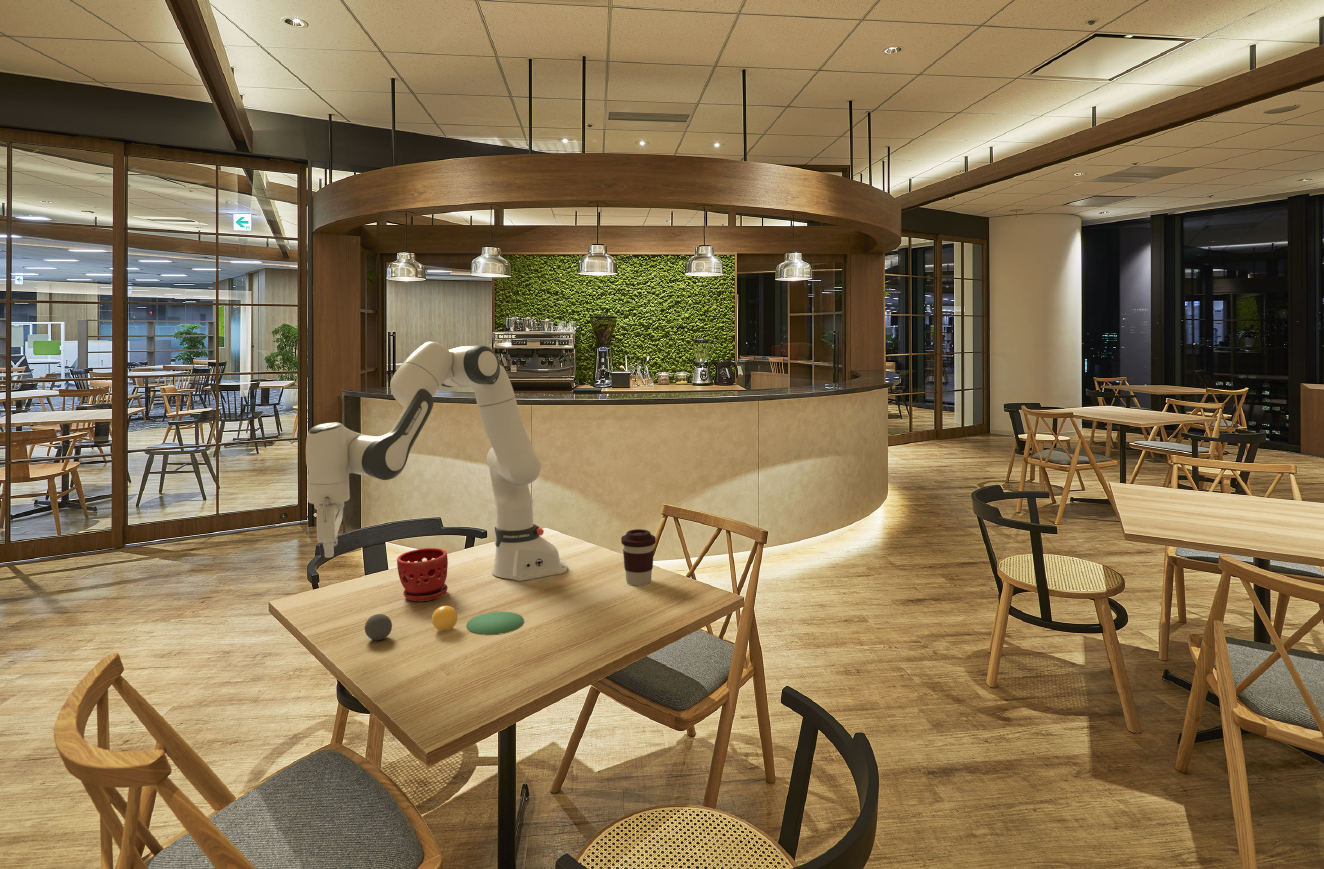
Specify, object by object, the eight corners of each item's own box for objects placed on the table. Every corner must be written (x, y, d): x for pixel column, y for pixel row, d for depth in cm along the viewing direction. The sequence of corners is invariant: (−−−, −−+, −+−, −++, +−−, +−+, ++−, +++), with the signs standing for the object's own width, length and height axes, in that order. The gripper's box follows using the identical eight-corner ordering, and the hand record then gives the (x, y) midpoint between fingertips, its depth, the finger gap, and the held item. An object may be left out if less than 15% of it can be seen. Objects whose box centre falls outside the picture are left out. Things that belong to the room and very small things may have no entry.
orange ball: (457, 623, 177) (456, 600, 176) (459, 633, 171) (458, 609, 170) (431, 627, 175) (430, 603, 174) (432, 636, 169) (431, 612, 168)
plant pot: (426, 585, 205) (424, 544, 203) (459, 593, 198) (457, 551, 196) (388, 599, 193) (386, 556, 192) (422, 608, 187) (420, 564, 185)
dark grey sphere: (392, 632, 172) (391, 608, 171) (392, 642, 166) (391, 617, 165) (365, 636, 169) (364, 612, 169) (364, 646, 164) (363, 621, 163)
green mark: (519, 609, 186) (519, 608, 186) (528, 630, 173) (528, 629, 173) (463, 616, 181) (463, 616, 181) (469, 638, 168) (469, 637, 168)
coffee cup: (615, 585, 204) (615, 534, 202) (630, 574, 213) (629, 526, 211) (647, 590, 200) (647, 538, 198) (660, 579, 209) (660, 529, 207)
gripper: (339, 501, 156) (342, 562, 158) (346, 484, 175) (349, 538, 177) (308, 503, 154) (310, 565, 156) (318, 485, 173) (321, 540, 175)
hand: (331, 551), depth 166 cm, fingers open, 8 cm apart
